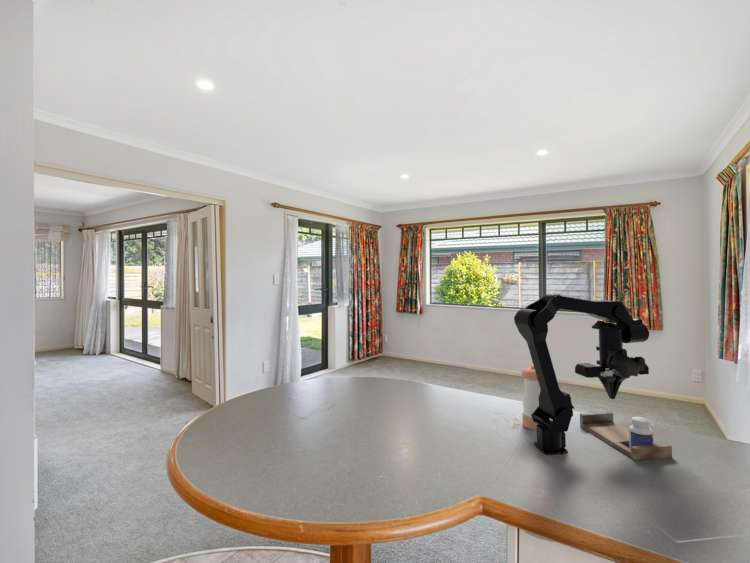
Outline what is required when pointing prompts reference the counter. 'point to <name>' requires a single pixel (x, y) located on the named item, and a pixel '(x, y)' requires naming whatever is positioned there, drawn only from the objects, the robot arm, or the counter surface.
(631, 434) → the pill bottle
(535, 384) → the pepper shaker
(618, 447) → the brown long shallow piece
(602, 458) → the counter surface
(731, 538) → the counter surface
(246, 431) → the counter surface
